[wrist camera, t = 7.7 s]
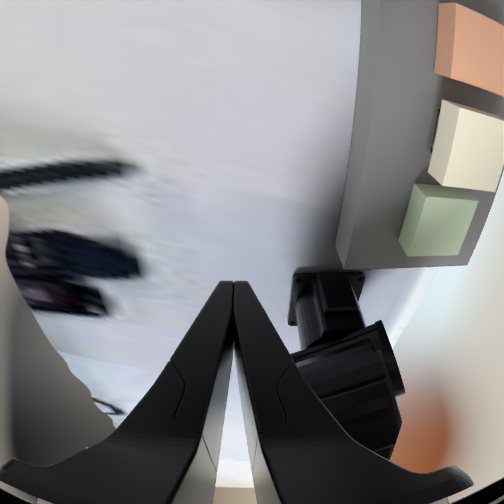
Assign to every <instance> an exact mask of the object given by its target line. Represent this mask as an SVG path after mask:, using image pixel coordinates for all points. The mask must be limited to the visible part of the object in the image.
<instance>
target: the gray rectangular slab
mask: <svg viewBox="0 0 504 504" xmlns="http://www.w3.org/2000/svg"><path fill="white" fill-rule="evenodd" d="M439 3H457V4H460V5H462V6H464V7H467V8H469V9H471V10H473V11H475V12H478V13H480V14H482V15H484V16H486V17H488V18H490V19H492V20H494V21H496V22H497V23H499V24H501V25H503V26H504V0H362V7H361V35H360V53H359V68H358V81H357V92H356V103H355V113H354V122H353V131H352V139H351V147H350V155H349V162H348V169H347V176H346V183H345V190H344V196H343V202H342V208H341V214H340V220H339V226H338V231H337V237H336V242H335V247H336V250H337V252H338V255H339V258H340V261H341V263H342V266H343V269H344V270H353V269H385V268H413V267H438V266H461V265H467V264H468V262H469V260H470V258H471V256H472V253H473V251H474V249H475V247H476V244H477V242H478V240H479V237H480V235H481V232H482V230H483V227H484V225H485V222H486V219H487V217H488V214H489V212H490V209H491V206H492V203H493V201H494V197H495V195H496V192H497V189H498V186H499V183H500V179H501V176H502V173H503V170H504V165H503V169H502V172H501V175H500V179H499V182H498V185H497V188H496V191H495V192H490V191H483V190H475V189H467V188H465V189H466V190H467V191H468V192H470V193H471V194H472V195H473V196H474V197H475V198H476V199H477V200H478V204H477V207H476V210H475V212H474V215H473V218H472V221H471V223H470V226H469V229H468V231H467V234H466V236H465V239H464V241H463V244H462V246H461V248H460V251H459V253H458V255H451V256H408V257H407V255H406V253H405V252H404V250H403V248H402V246H401V245H400V243H399V241H398V239H399V236H400V233H401V229H402V226H403V223H404V219H405V216H406V212H407V208H408V205H409V201H410V197H411V193H412V189H413V185H414V183H418V184H429V185H439V186H442V185H441V184H440V183H439V182H438V181H437V180H436V179H435V178H434V177H433V176H431V175H430V174H429V173H428V169H429V165H430V160H431V156H432V151H433V147H431V146H432V142H433V137H434V131H435V126H436V121H437V115H438V109H441V104H442V100H446V101H450V102H454V103H458V104H461V105H465V106H468V107H472V108H475V109H479V110H482V111H485V112H488V113H491V114H494V115H497V116H499V117H501V118H502V119H504V97H503V96H501V95H498V94H495V93H493V92H490V91H487V90H485V89H482V88H479V87H476V86H473V85H470V84H467V83H464V82H461V81H458V80H455V79H452V78H448V77H445V76H442V75H439V74H436V73H434V68H435V58H436V46H437V31H438V5H439Z"/></svg>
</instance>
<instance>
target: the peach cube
mask: <svg viewBox="0 0 504 504" xmlns="http://www.w3.org/2000/svg"><path fill="white" fill-rule="evenodd" d="M434 73H436V74H439V75H442V76H445V77H448V78H452V79H455V80H458V81H461V82H464V83H467V84H470V85H473V86H476V87H479V88H482V89H485V90H487V91H490V92H493V93H495V94H498V95H501V96H503V97H504V26H503V25H501V24H499V23H497V22H496V21H494V20H492V19H490V18H488V17H486V16H484V15H482V14H480V13H478V12H475V11H473V10H471V9H469V8H467V7H464V6H462V5H460V4H457V3H439V5H438V31H437V46H436V58H435V68H434Z"/></svg>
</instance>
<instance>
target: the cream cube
mask: <svg viewBox="0 0 504 504" xmlns="http://www.w3.org/2000/svg"><path fill="white" fill-rule="evenodd" d="M431 147H433V151H432V156H431V160H430V165H429V169H428V173H429V174H430V175H431V176H433V177H434V178H435V179H436V180H437V181H438V182H439V183H440V184H441V185H442V186H449V187H458V188H467V189H475V190H483V191H490V192H495V191H496V188H497V185H498V182H499V179H500V175H501V172H502V169H503V165H504V119H502V118H501V117H499V116H497V115H494V114H491V113H488V112H485V111H482V110H479V109H475V108H472V107H468V106H465V105H461V104H458V103H454V102H450V101H446V100H442V104H441V110H438V115H437V121H436V126H435V131H434V137H433V142H432V146H431Z"/></svg>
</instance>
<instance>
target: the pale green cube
mask: <svg viewBox="0 0 504 504" xmlns="http://www.w3.org/2000/svg"><path fill="white" fill-rule="evenodd" d="M477 204H478V200H477V199H476V198H475V197H474V196H473V195H472V194H471V193H470V192H468V191H467V190H466V189H465V188H458V187H449V186H439V185H429V184H418V183H414V185H413V189H412V193H411V197H410V201H409V205H408V208H407V212H406V216H405V219H404V223H403V226H402V229H401V233H400V236H399V239H398V241H399V243H400V245H401V246H402V248H403V250H404V252H405V253H406V255H407V257H408V256H451V255H458V253H459V251H460V248H461V246H462V244H463V241H464V239H465V236H466V234H467V231H468V229H469V226H470V223H471V221H472V218H473V215H474V212H475V210H476V207H477Z"/></svg>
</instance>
